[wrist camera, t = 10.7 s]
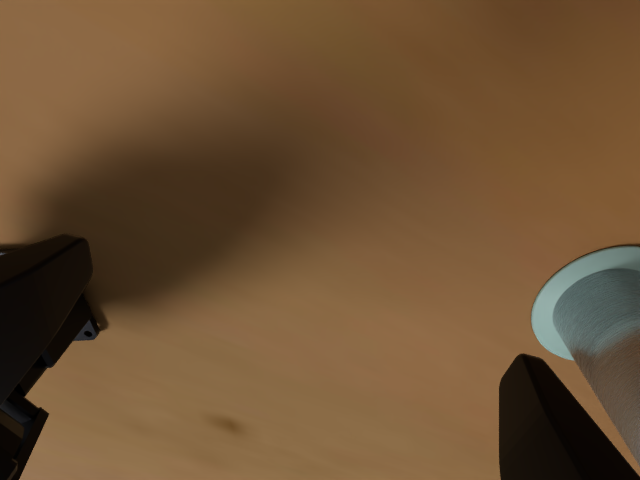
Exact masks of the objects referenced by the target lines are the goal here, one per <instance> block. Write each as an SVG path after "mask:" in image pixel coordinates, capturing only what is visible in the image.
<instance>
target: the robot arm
mask: <svg viewBox="0 0 640 480" xmlns="http://www.w3.org/2000/svg"><path fill="white" fill-rule="evenodd" d="M92 273H93V265H92V259H91V254H90V249H89V244H88V241H87V240H86V239H85V238H83V237H79V236H75V235H71V234H62V235H59V236H56V237H53V238H50V239H47V240H44V241H41V242H38V243H36V244H33V245H30V246H27V247H24V248H20V249H5V250H0V480H19V479H20V476H21V474H22V472H23V470H24V468H25V465H26V463H27V461H28V459H29V457H30V455H31V452H32V450H33V448H34V446H35V444H36V442H37V439H38V437H39V435H40V433H41V431H42V428H43V426H44V424H45V422H46V420H47V418H48V415H49V413H47V412H46V411H45V410H44V409H42V408H41V407H40V408H38V407H36V406H35V405H34V404H33V403H31V402H30V401H29V400H27V399H26V398H25V396H26V394H27V393H28V392H29V391H30V389H31V388H32V387H33V385H34V384H35V383H36V382H37V380H38V379H39V378H40V377H41V375H42V374H43V373H44V371H45V370H46V369H47V368H52V367H53V366H54V365H55V363H56V362H57V361H58V360H59V358H60V357H61V356H62V354H63V353H64V352H65V351H66V349H67V348H68V347H69V345H70V344H71V343H72V342H73V341H81V340H94V339H95V338H96V337H97V336H98V334H99V332H100V331H99V328H98V326H97V323H96V321H95V319H94V317H93V315H92V313H91V311H90V308H89V306H88V304H87V302H86V300H85V298H84V296H83V293H82V292H83V290H84V288H85V287H86V285H87V284H88V282H89V280H90V278H91V276H92ZM89 331H90V332H89ZM499 465H500V476H501V480H640V477H639V475H638V474H637V473H636V472H635V470H634V469H633V468H632V467H631V466H630V464H629V463H628V462H627V461H626V459H625V458H624V457H623V456H622V455H621V453H620V452H619V451H618V450H617V449H616V447H615V446H614V445H613V444H612V442H611V441H610V440H609V439H608V438H607V436H606V435H605V434H604V433H603V432H602V430H601V429H600V428H599V427H598V425H597V424H596V423H595V422H594V421H593V419H592V418H591V417H590V416H589V414H588V413H587V412H586V411H585V410H584V408H583V407H582V406H581V405H580V404H579V402H578V401H577V400H576V399H575V397H574V396H573V395H572V394H571V393H570V391H569V390H568V389H567V388H566V387H565V385H564V384H563V383H562V382H561V380H560V379H559V378H558V377H557V376H556V374H555V373H554V372H553V371H552V370H551V368H550V367H549V366H548V365H547V363H546V362H545V361H544V360H543V359H541V358H539V357H535V356H531V355H527V354H519V355H518V356H517V357H516V358H515V359H514V361H513V362H512V364H511V365H510V367H509V368H508V370H507V371H506V372H505V374H504V375H503V377H502V379H501V381H500V386H499Z"/></svg>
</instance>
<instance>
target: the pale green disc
mask: <svg viewBox="0 0 640 480" xmlns="http://www.w3.org/2000/svg"><path fill="white" fill-rule="evenodd" d="M613 268H627V269H634V270H637V271H640V246H619V247H611V248H606V249H602V250H599V251H595V252H592V253H589V254H587V255H585V256H582V257H580V258H578V259H576V260H574V261H572V262H571V263H569V264H567V265H566V266H564V267H563V268H561V269H560V270H559V271H558V272H556V273H555V274H554V275H553V276H552V277H551V278H550V279H549V280H548V281H547V282H546V283H545V285H544V286H543V287H542V288H541V290H540V292H539V293H538V295H537V297H536V299H535V301H534V304H533V307H532V312H531V324H532V328H533V331H534V333H535V335H536V337H537V339H538V340H539V342H540V343H541V344H542V345H543V346H544V347H545V348H546V349H547V350H549V351H550V352H552V353H553V354H555V355H557V356H559V357H562V358H565V359H569V360H574V359H573V357H572V356H571V354H570V352H569V351H568V349H567V347H566V346H565V344H564V343H563V341H562V339H561V338H560V336H559V334H558V333H557V331H556V329H555V327H554V324H553V318H552V317H553V310H554V307H555V305H556V302H557V301H558V299H559V298H560V296H561V295H562V294H563V293H564V291H566V290H567V289H568V288H569V287H570V286H571V285H572V284H574V283H575V282H577V281H578V280H580V279H582V278H583V277H585V276H587V275H590V274H592V273H595V272H598V271H602V270H606V269H613ZM574 361H575V360H574Z"/></svg>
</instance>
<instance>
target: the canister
mask: <svg viewBox="0 0 640 480" xmlns="http://www.w3.org/2000/svg"><path fill="white" fill-rule="evenodd" d="M552 318H553V324H554V327H555V329H556V331H557V333H558V334H559V336H560V338H561V339H562V341H563V343H564V344H565V346H566V347H567V349H568V351H569V352H570V354H571V356H572V357H573V359H574V360H575V362H576V364H577V365H578V367H579V369H580V370H581V372H582V373H583V375H584V377H585V378H586V380H587V382H588V383H589V385H590V387H591V388H592V390H593V391H594V393H595V395H596V396H597V398H598V400H599V401H600V403H601V404H602V406H603V408H604V409H605V411H606V413H607V414H608V416H609V417H610V419H611V421H612V422H613V424H614V426H615V427H616V429H617V430H618V432H619V434H620V435H621V437H622V439H623V440H624V442H625V444H626V445H627V447H628V448H629V450H630V452H631V453H632V455H633V457H634V458H635V460H636V461H637V463H638V465H639V466H640V271H637V270H634V269H627V268H613V269H606V270H602V271H598V272H595V273H592V274H590V275H587V276H585V277H583V278H582V279H580V280H578V281H577V282H575V283H574V284H572V285H571V286H570V287H569V288H568V289H567V290H566V291H564V293H563V294H562V295H561V296H560V298H559V299H558V301H557V302H556V305H555V307H554V310H553V317H552Z"/></svg>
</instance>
